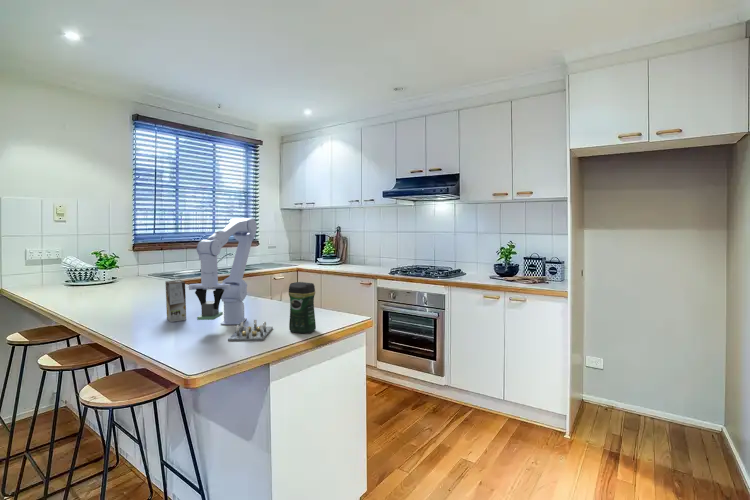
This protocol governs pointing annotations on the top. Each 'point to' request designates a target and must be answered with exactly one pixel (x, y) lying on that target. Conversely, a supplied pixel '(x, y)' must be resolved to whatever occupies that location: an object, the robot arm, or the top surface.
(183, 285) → the coffee box
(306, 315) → the coffee jar
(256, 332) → the peg board with balls
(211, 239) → the robot arm
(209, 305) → the grey block
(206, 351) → the top surface
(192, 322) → the top surface
